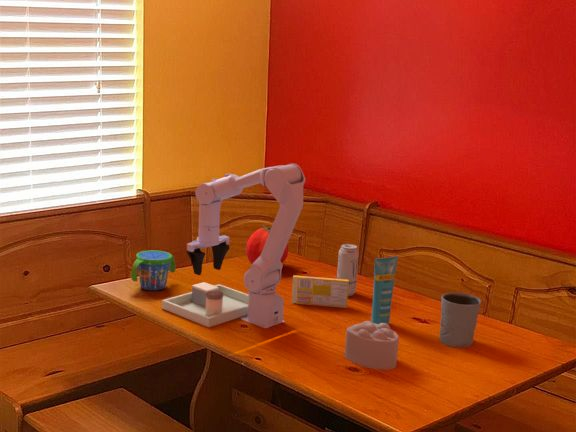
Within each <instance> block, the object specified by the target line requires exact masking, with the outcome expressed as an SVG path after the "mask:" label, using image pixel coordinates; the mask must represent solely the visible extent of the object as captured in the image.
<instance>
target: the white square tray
mask: <svg viewBox="0 0 576 432" xmlns="http://www.w3.org/2000/svg"><path fill="white" fill-rule="evenodd" d="M214 286H216V287H219V292H222V293H223V305H222V313H221V314H218V315H214V316H211V317H207V316H205V312H206V308H205V307H203V306H200V305H198V304H195V303H192V291H190V292H186V293H183V294H180V295H176V296H172V297H168V298H166V299H162V300H161V309H162V310H164V311H166V312H169V313H172V314H174V315H177V316H179V317H182V318H184V319H187V320H189V321H192V322H193V323H196V324H199V325H201V326H204V327H206V328H212V327H214V326H218V325H221V324H224V323H227V322H230V321H233V320H236V319H238V318H239V319H240V318H243V317H246V316H247V315H248V295H249V293H245V292H242V291H240V290H237V289H233V288H232V287H228V286H225V285H223V284H215V285H214Z"/></svg>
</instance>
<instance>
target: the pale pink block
mask: <svg viewBox="0 0 576 432" xmlns="http://www.w3.org/2000/svg"><path fill="white" fill-rule="evenodd" d="M209 291H219V287H216V286H215V285H213V284H210V283H207V282H206V281H205V282H204V281H203V282H200V283H195V284H191V292H192V303H195V304H198V305H200V306H203V307H205V308H206V292H209Z"/></svg>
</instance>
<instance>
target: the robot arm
mask: <svg viewBox="0 0 576 432" xmlns="http://www.w3.org/2000/svg"><path fill="white" fill-rule="evenodd" d="M223 175H224V177H221V178H213V179H211V181H210V182H202V183H201V184H199V185H198V186H196V189H195V199H196V200H197V201H198V204H199V208H198V209H199V210H198V213H199V214H198V236H197V237H196V239H195V240H193V241H191V242H188V243H186V253H187V256H188V257H189V259H190V261H191V266H192V270H193V274H195V275H196V276H202V271H203V263H204V262H203V261H204V260H205V259H204V258H205V255H206V252H203V251H202V249H206V248H210V247H211V250H212V257H213V259H212V260H213V261H212V262H213V263H212V265H213V269H215V270H217V271H221V269H222V266H223V262H224V259H225V257H226V254H227V253H228V251H229V250H230V245H229V244H230V236H227V235H226V234H224V235H220V220H221V219H220V217H221V206H222V202H223V200H227V199H230V198H233V197H235V196H238V195H240V194H242V192H243V190H244V189H245V188H248V187H252V186H255V185H259V184H261V185H262V187H266V188H267V190H268V191H269V192H270V193H271V194H272V196H273V198H274V199H275V200H276V202H278V204H279V208H278V210H277V214H276V215H275V218H274V221H273V223H272V226H271V227H270V228H271V231H270V233H269V235H268V238H267V240H266V243H265V245H264V248H263V250H262V253H261V255H260V256H259V258H258V259H257V260H256V261H255V262H254V263H253V264H251V266H250V268H249V269H248V270H246V271H245V273H244V275H243V283H244V286H245V288H246V289H247V292H248V315H245V316H242V317H240V320H243V321H245V322H246V323H247V322H248V323H250V324H253V325H256V326H259V327H260V328H263V329H268V328H270V327H273V326H276V325H279V324H282V323H284V322H285V320H284V307H285V303H284V298H283V297H282V296H281V295H280V294H278V293H277V291H276V289H277V285H278V284H279V283H280V282H281V279H282V269H283V266H284V265H283V264H284V263H281V262H280V260H281V257H282V255H283V253H284V250H285V248H286V245H287V243H288V244H289V240H290V238H291V235H292V233H293V231H294V228H295V226H296V223H297V221H298V219H299V216H300V214H301V212H302V210H303V207H304V186H305V182H306V176H305V174H304V172H303V170H302V168H301V167H300V166H299V164H297V163H288V164H286V165H284V164H281V165H275V166H268V167H264V168H260V169H259V168H258V169H257V170H255V171H254V170H253V171H251V172H249V173H246V174H244V175H240V176H238V174H234V173H233V174H232V173H231V172H230V173H229V172H228V173H226V174H223Z"/></svg>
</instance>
